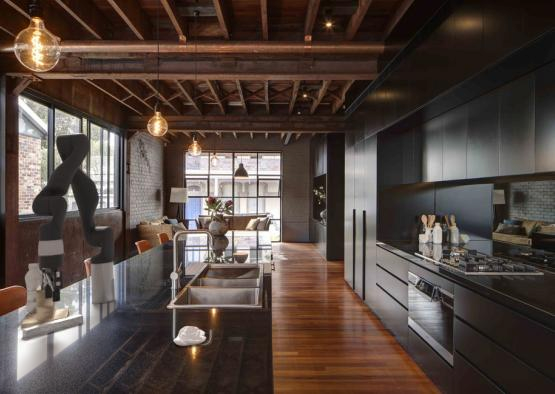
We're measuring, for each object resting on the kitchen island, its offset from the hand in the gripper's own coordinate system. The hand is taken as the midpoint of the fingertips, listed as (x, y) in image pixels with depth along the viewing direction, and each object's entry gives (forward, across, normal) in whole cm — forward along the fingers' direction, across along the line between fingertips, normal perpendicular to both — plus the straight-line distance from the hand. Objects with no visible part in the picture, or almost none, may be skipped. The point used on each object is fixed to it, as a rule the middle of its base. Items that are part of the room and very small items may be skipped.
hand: (52, 299), depth 126 cm
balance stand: (+10, +16, -2) cm, 19 cm away
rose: (+11, -48, -24) cm, 55 cm away
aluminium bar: (+11, 0, 0) cm, 11 cm away
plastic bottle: (+10, +30, -2) cm, 32 cm away
